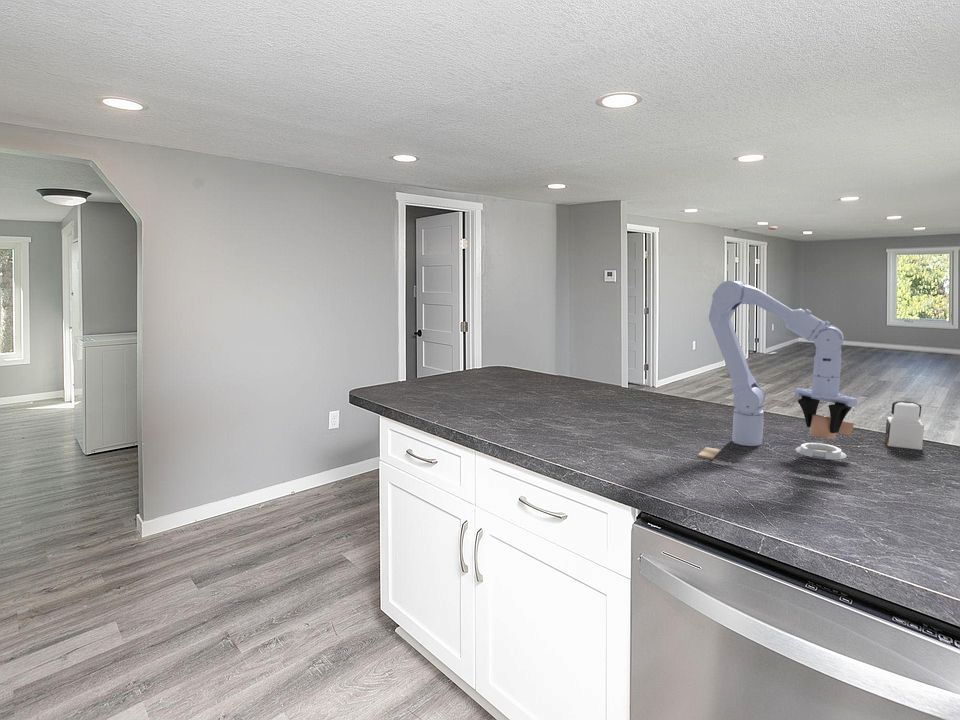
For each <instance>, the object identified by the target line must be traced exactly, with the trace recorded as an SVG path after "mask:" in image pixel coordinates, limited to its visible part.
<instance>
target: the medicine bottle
mask: <svg viewBox="0 0 960 720" xmlns="http://www.w3.org/2000/svg"><path fill="white" fill-rule="evenodd" d="M921 413H922V406H921V404H920V403H919V404H918V403H917V402H914V401H907V400H898V401H894V402H892V405H891V413H890V414H891V416H887V417H886V423H885V424H886V425H885V436H884V443H886V445H887V447H894V448H903V449H910V450H911V449H912V450H918V451H919V450H922V449H923V441H924V430H925V425H924V424H923V422H922V421H921V415H922V414H921Z"/></svg>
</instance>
